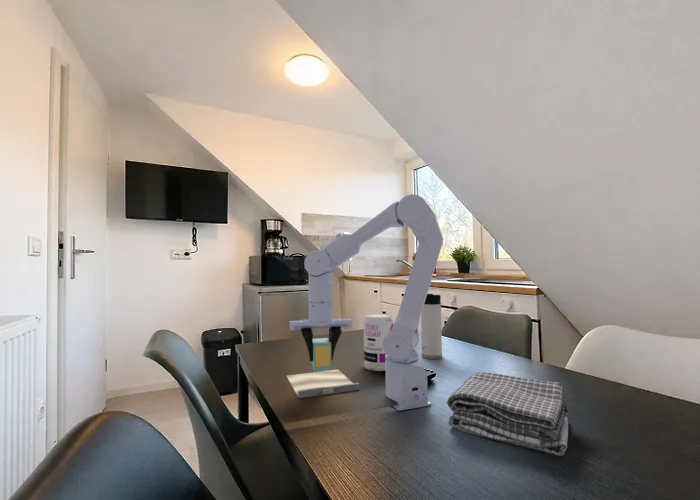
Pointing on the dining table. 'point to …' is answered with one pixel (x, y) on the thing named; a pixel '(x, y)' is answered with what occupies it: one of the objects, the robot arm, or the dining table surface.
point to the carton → (321, 354)
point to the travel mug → (431, 327)
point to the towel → (512, 411)
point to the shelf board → (321, 383)
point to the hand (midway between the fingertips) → (321, 359)
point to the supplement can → (375, 340)
